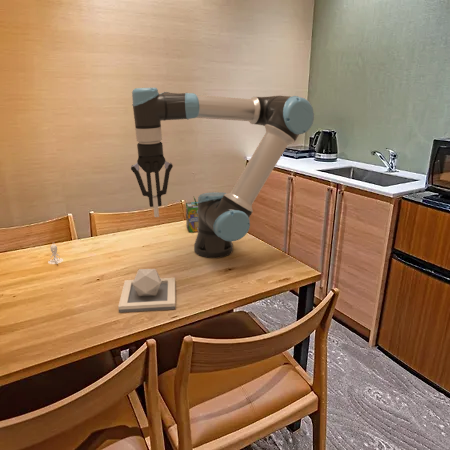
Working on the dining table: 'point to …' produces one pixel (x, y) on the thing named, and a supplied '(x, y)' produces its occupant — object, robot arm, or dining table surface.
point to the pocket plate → (148, 298)
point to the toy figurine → (55, 259)
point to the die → (147, 282)
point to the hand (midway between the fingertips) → (156, 215)
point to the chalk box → (192, 216)
